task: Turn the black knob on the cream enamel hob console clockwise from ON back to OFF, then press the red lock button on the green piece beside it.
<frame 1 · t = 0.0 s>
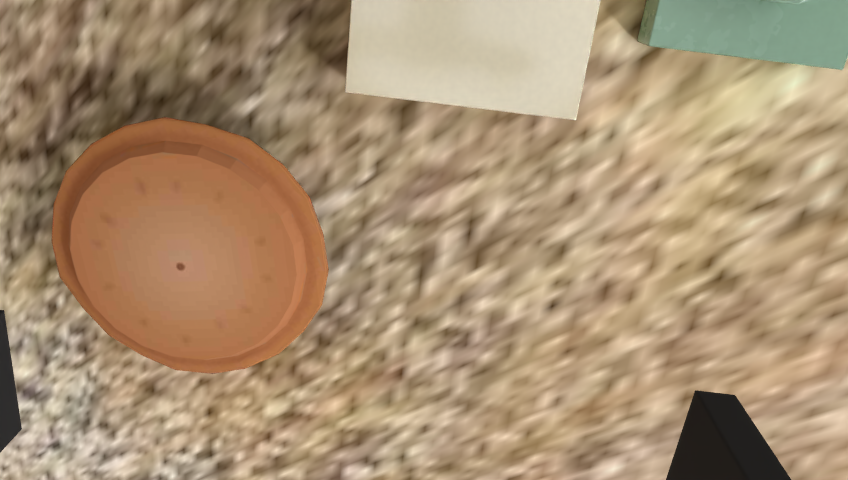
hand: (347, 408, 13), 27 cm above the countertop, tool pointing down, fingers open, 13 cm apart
pie: (211, 230, 41), on the countertop
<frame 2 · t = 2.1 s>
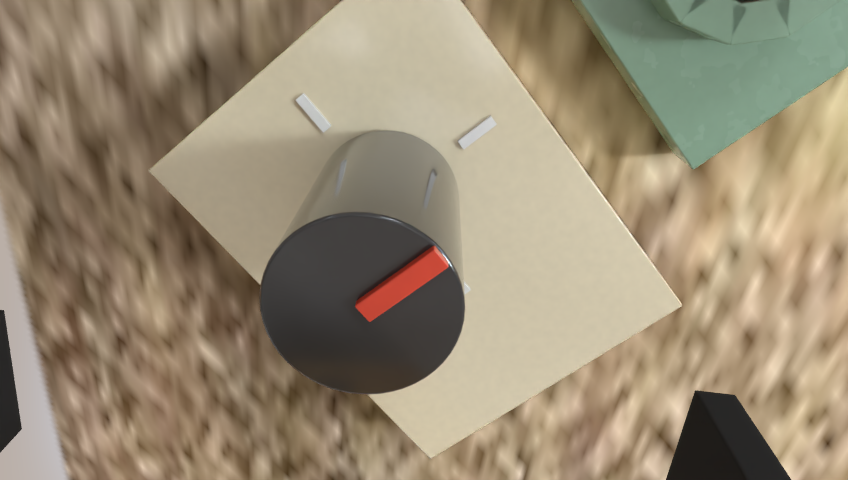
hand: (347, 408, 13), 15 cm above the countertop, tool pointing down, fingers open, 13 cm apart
hob knob: (376, 246, 20), point 7 cm above the countertop, hinge at 90.0°
hob console: (425, 211, 27), on the countertop
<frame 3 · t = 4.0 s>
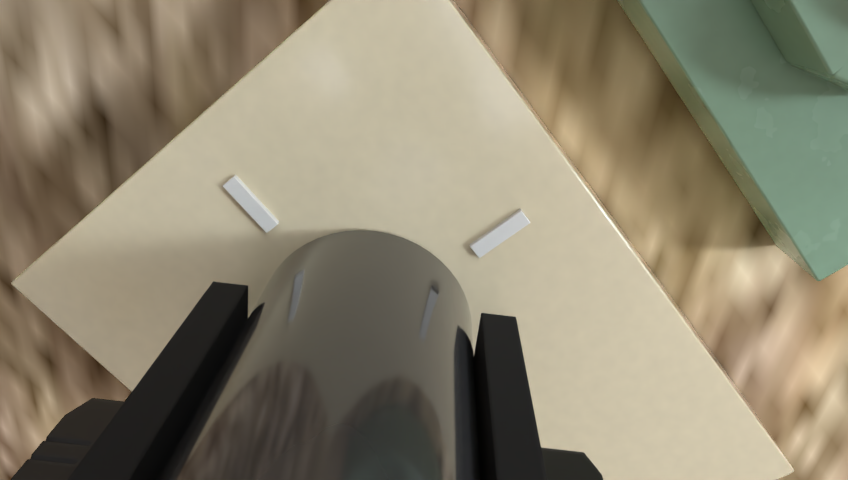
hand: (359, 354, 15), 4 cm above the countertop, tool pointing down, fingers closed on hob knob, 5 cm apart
hob knob: (339, 443, 12), point 7 cm above the countertop, hinge at 89.9°, touching gripper
hob console: (422, 321, 19), on the countertop
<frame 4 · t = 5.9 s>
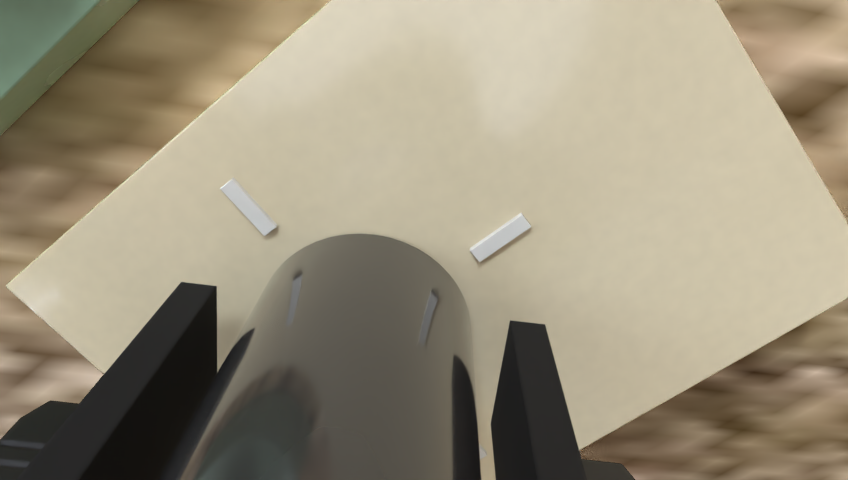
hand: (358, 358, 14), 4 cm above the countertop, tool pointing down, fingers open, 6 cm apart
hob knob: (337, 450, 12), point 7 cm above the countertop, hinge at -0.5°
hob console: (434, 233, 18), on the countertop
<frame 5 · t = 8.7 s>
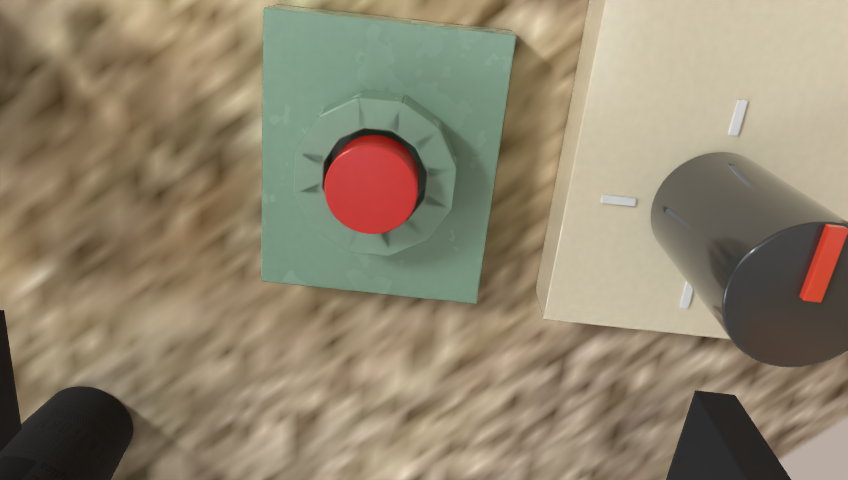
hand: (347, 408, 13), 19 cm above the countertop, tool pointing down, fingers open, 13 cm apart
lock button: (373, 184, 26), point 4 cm above the countertop, slide at 0.1 cm
green piece: (383, 154, 30), on the countertop
hob knob: (753, 249, 24), point 7 cm above the countertop, hinge at -0.5°
drinking cup: (91, 420, 37), on the countertop
hob console: (698, 145, 30), on the countertop
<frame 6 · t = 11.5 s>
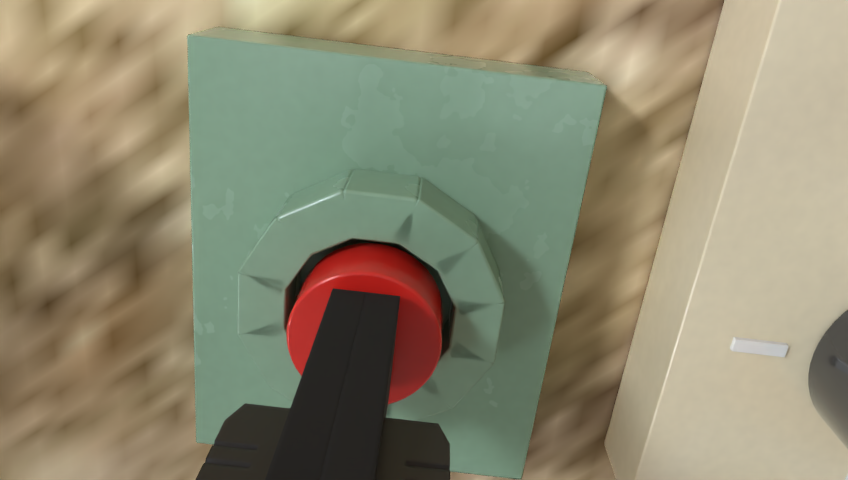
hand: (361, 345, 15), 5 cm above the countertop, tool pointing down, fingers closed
lock button: (367, 324, 16), point 4 cm above the countertop, slide at -0.1 cm, touching gripper
green piece: (383, 254, 20), on the countertop
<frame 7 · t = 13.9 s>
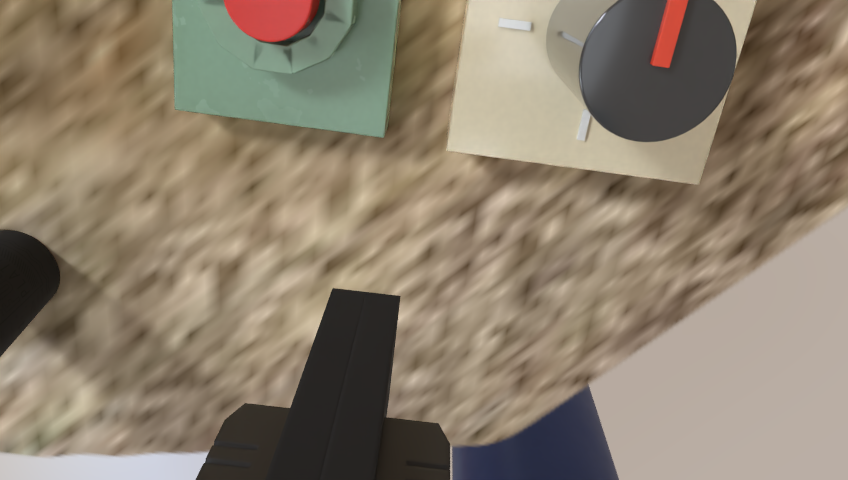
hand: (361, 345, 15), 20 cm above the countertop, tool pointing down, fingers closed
hob knob: (627, 50, 25), point 7 cm above the countertop, hinge at -0.5°
drinking cup: (19, 267, 38), on the countertop
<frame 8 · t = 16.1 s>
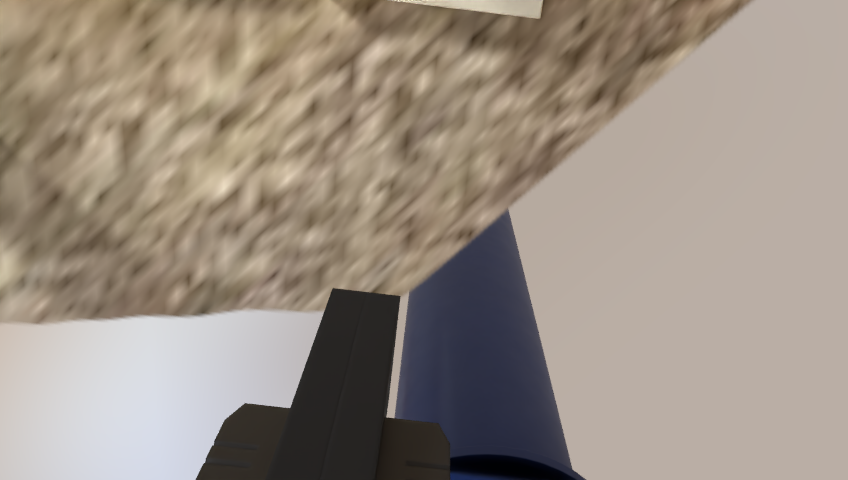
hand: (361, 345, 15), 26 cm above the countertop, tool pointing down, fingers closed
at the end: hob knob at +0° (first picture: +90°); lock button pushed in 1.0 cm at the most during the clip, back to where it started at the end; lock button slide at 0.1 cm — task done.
